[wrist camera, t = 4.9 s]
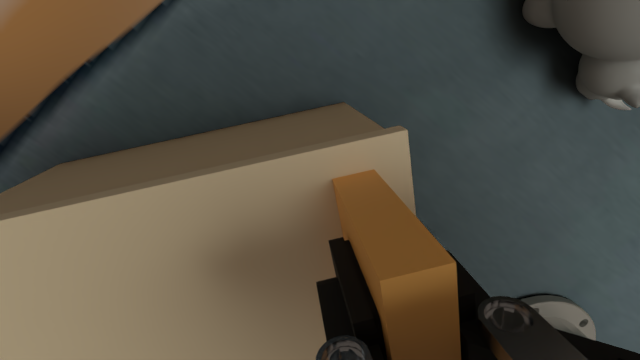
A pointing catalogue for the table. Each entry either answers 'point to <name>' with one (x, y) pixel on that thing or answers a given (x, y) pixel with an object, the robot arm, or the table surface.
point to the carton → (187, 155)
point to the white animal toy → (597, 44)
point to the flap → (228, 261)
